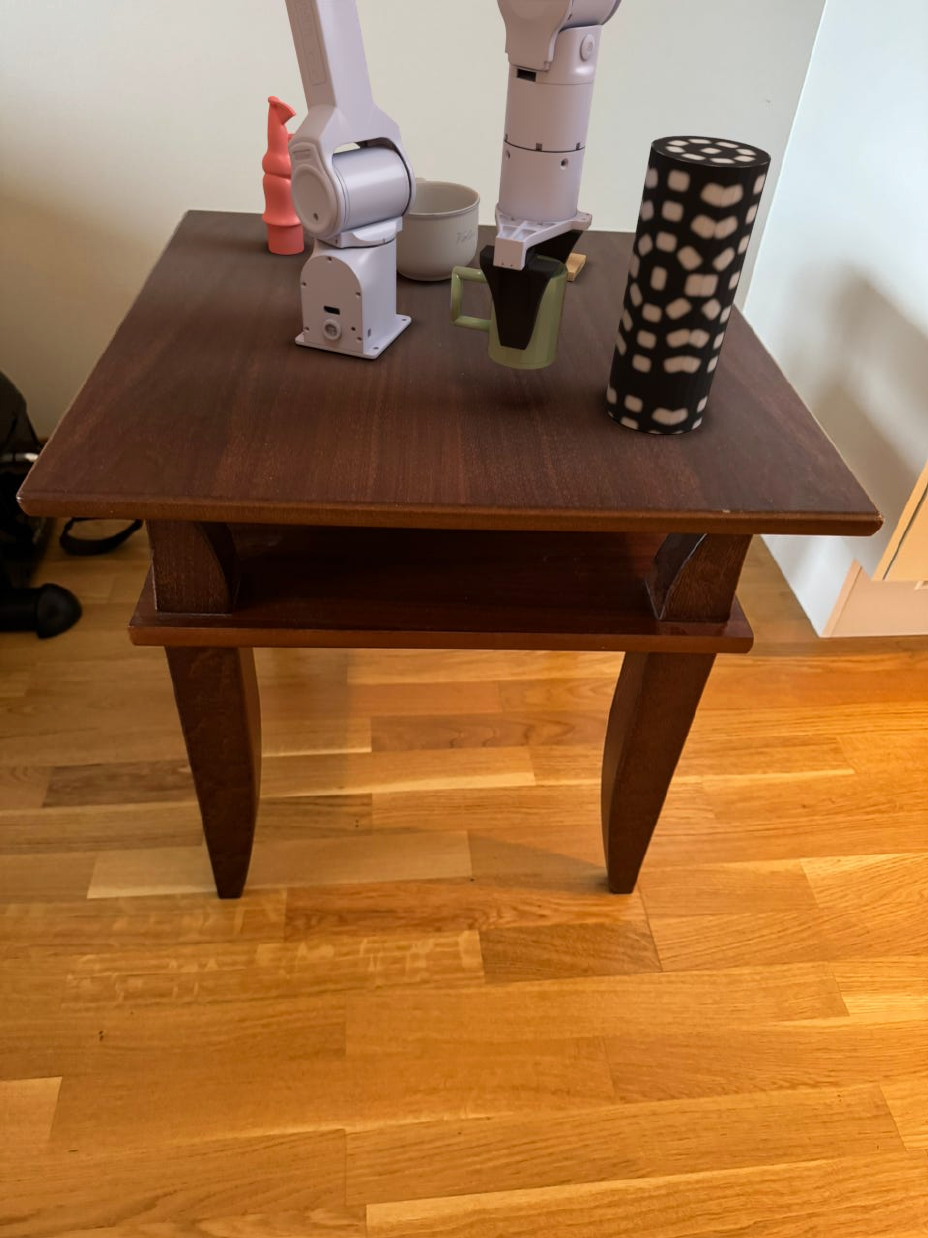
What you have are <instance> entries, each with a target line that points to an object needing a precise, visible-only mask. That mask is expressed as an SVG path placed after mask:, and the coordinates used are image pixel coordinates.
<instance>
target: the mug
mask: <svg viewBox="0 0 928 1238" xmlns="http://www.w3.org/2000/svg"><path fill="white" fill-rule="evenodd" d="M537 258H538V259H544V260H550V261H555V262H560V265H559V266H558V268H557V269H556V271H555V273H554V274H553V276H552V278H551V279H550V281H549V283H548V285H547V288H546V290H545V292H544V295H543V298H542V301H541V303H540V307H539V310H538V314H537V318H536V322H535V326H534V330H533V334H532V337H531V339H530V342H529V344H528V346H527V348H526V350H520V349H515V348H510V347H504V346H501V345H500V342H499V337H498V331H497V324H496V316H495V309H494V303H493V299H492V295H491V294H490V305H489V319H482V318H477V317H472V316H468V315H462V310H463V305H462V304H463V290H464V281H469V282H476V283H481V284H487V285H488V283H487V280H486V278H485V276H484V274H483V272H482V270H481V269H478V268H472V267H468V266H466V267H462V266H455V267H454V268H453V270H452V277H451V288H450V304H449V305H450V307H449V309H450V310H449V323H450V324H451V325H452V327H453V326H454V327H458V328H462V329H468V330H474V331H477V332H478V331H479V332H484V333H487V355H488V357H489V358H490V359H491V360H492V361H494V362H495V363H496V364H499V365H501V366H503V367H506V368H507V367H508V368H511V369H516V370H538V369H544V368H546V367H549V366H551V365H552V364H553V363H555V361H556V360H557V355H558V351H559V346H560V345H559V344H560V337H561V331H562V330H561V329H562V322H563V315H564V309H565V301H566V294H567V293H566V292H567V287H568V286H567V285H568V280H567V279H568V272H569V270H568V268H567V266H566V265H565V264H564V263H562V262H561V261H559V260H556V259H554V258H551V257H548V256H543V255H538V257H537Z"/></svg>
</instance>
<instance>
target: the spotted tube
mask: <svg viewBox="0 0 928 1238" xmlns="http://www.w3.org/2000/svg"><path fill="white" fill-rule="evenodd" d="M771 163H772V156H771V155H770V153H768V152H767V151H765V150H763V149H761V148H760V147H757V146H754V145H751V144H748V143H744V142H741V141H736V140H731V139H726V138H719V137H713V136H712V137H711V136H702V135H670V136H664V137H659V138H656V139H654V140H653V141H652V142H651V143H650V150H649V155H648V160H647V166H646V172H645V177H644V181H643V182H644V183H643V189H642V193H641V194H642V195H641V199H640V200H641V201H640V206H639V211H638V217H637V221H636V227H635V229H636V230H635V234H634V239H633V244H632V251H631V256H630V261H629V267H628V272H627V278H626V283H625V289H624V295H623V301H622V305H621V306H622V307H621V311H620V318H619V323H618V329H617V335H616V339H615V346H614V351H613V357H612V362H611V368H610V373H609V379H608V384H607V390H606V396H605V401H604V406H605V411H606V412H607V413H608V415H609V416H610V417H612V419H614V420H615V421H617V422H618V423H620V424H621V425H624V426H625V427H628V428H630V429H634V430H636V431H641V432H645V433H649V434H657V435H676V434H683V433H687V432H690V431H693V430H694V429H696V428H698V427H699V426H700V425H701V424H702V422H703V419H704V416H705V411H706V408H707V404H708V401H709V397H710V394H711V389H712V386H713V381H714V378H715V373H716V371H717V366H718V362H719V360H720V359H719V358H720V355H721V351H722V348H723V344H724V339H725V336H726V333H727V329H728V328H727V327H728V325H729V321H730V317H731V314H732V309H733V306H734V301H735V298H736V294H737V291H738V286H739V283H740V279H741V276H742V271H743V268H744V264H745V260H746V256H747V254H748V253H747V252H748V248H749V245H750V241H751V238H752V233H753V229H754V226H755V222H756V218H757V215H758V211H759V207H760V203H761V200H762V196H763V192H764V188H765V184H766V180H767V177H768V173H769V169H770V165H771Z"/></svg>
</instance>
